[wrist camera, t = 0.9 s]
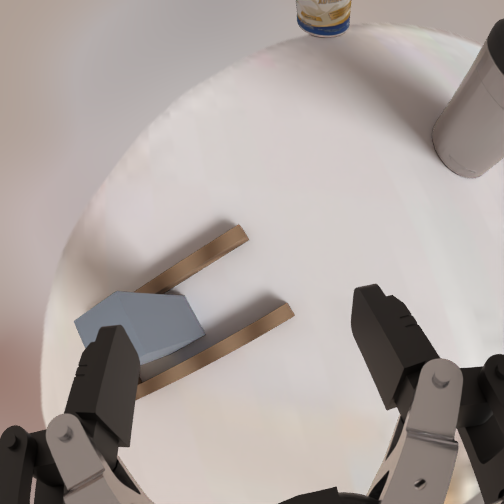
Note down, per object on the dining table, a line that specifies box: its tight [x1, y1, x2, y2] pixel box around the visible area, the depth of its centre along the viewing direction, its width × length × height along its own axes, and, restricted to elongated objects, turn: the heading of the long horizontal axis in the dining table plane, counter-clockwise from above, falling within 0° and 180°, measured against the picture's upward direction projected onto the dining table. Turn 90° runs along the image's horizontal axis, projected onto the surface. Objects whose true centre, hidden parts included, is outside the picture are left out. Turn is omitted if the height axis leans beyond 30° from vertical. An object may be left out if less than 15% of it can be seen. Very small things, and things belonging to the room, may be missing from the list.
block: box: [74, 291, 206, 365], centre depth 28 cm, size 5×5×14 cm
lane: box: [134, 225, 294, 400], centre depth 33 cm, size 22×11×2 cm, turn 121°
